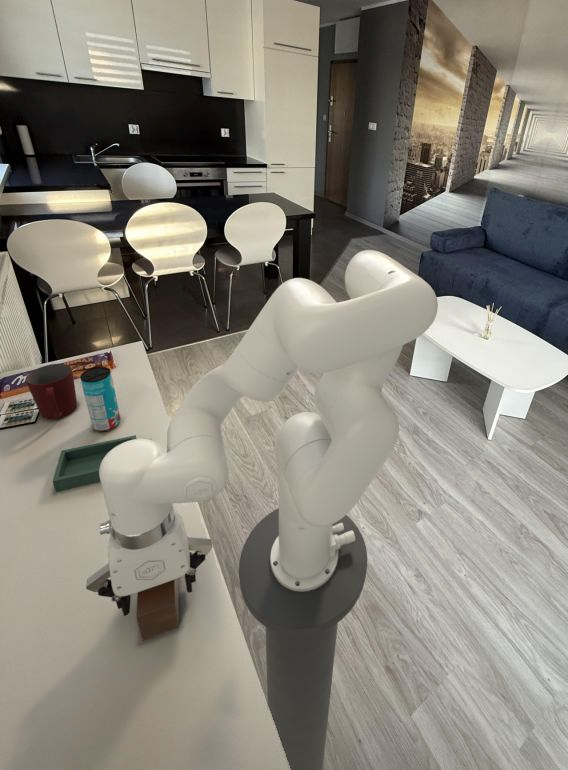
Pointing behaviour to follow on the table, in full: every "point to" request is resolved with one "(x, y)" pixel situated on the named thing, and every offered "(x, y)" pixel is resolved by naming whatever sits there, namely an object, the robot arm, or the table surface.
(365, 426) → the robot arm
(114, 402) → the beverage can
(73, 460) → the tray
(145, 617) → the walnut box
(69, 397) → the mug
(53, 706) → the table surface
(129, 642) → the table surface
